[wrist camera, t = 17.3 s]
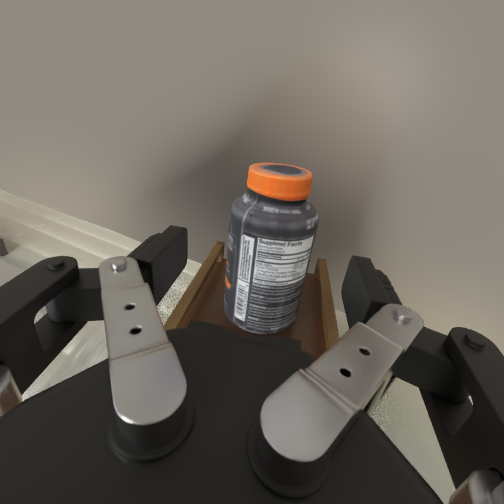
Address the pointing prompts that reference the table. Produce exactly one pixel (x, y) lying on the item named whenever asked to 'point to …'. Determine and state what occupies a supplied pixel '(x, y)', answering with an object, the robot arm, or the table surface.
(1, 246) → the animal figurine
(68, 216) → the table surface
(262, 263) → the pill bottle
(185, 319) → the tray
